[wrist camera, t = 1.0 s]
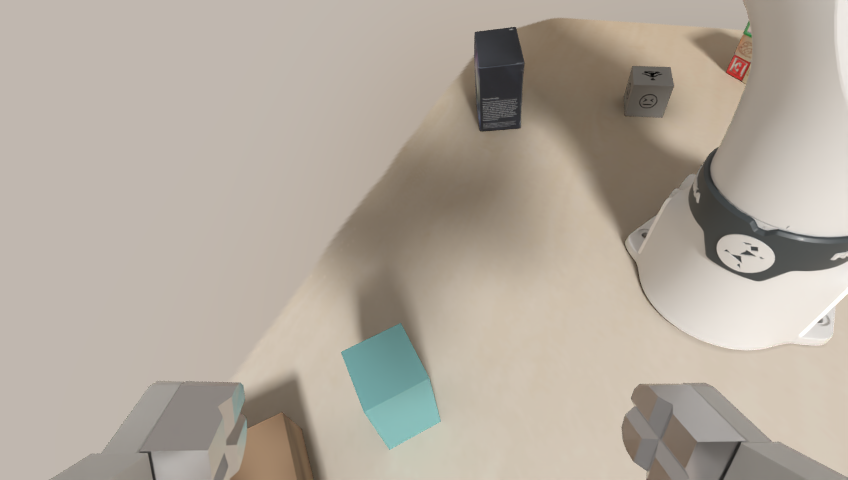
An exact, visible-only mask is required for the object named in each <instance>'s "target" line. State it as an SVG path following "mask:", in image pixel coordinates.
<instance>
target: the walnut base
mask: <svg viewBox="0 0 848 480" xmlns="http://www.w3.org/2000/svg"><path fill="white" fill-rule="evenodd" d="M230 480H314V479H313V475H312V471H311V466H310V462H309V458H308V454H307V450H306V446H305V442H304V438H303V433H302V429H301V428H300V427H299V426H298V425H296V424H295V423H294V422H293V421H292V420H291V419H290V418H288V417H287V416H286V415H285V414H284V413H283V412H281V413H279V414H277V415H275V416H273V417H271V418H269V419H266V420H264V421H262V422H260V423H258V424H256V425H254V426H252V427H250V428H247V438H246V445H245V450H244V455H243V459H242V462H241V465H240V468H239V471H238V472H237V473H236V474H234V475H233V476H232V477H231V478H230Z"/></svg>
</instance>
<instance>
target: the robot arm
mask: <svg viewBox="0 0 848 480" xmlns="http://www.w3.org/2000/svg"><path fill="white" fill-rule="evenodd" d="M743 2H744V5H745V7H746V10H747V14H748V18H749V22H750V27H751V34H752V59H751V66H750V71H749V75H748V79H747V82H746V85H745V88H744V91H743V94H742V96H741V99H740V101H739V104H738V106H737V109H736V111H735V114H734V116H733V118H732V121H731V123H730V125H729V127H728V129H727V131H726V133H725V136H724V138H723V140H722V142H721V144H720V146H719V147H718V148H716V149H715V150H713V151H712V152H711V153H710V154H709V156H708V157H707V159H706V160H705V162H704V163H703V165H701V167H700V168H699V170H698V172H697V174H696V175H695V174H690V175H689V176H687V177H686V178H685V180H684V181H683V182H682V184H681V185H680V187H679V189H678V188H676V189H674V190H673V191H672V193H671V194H670V195H669V198H667V199H666V201H665V202H664V203H663V205H662V207H661V209H660V211H659V213H658V214H657V215H655V216H654V217H652V218H651V219H650V220H648V221H647V222H646V223H644V224H643V225H642V226H640V227H639V228H637V229H636V230H635V231H633V232H632V233H631V234H630V235H629V236H628V238H627V239H626V241H625V246H626V248H627V250H628V252H629V253H630V255H631V256H632V257H633V259H634V260H635V261H636V263H637V266H638V271H639V277H640V282H641V285H642V288H643V290H644V292H645V294H646V296H647V298H648V299H649V301H650V302H651V304H652V305H653V306H654V307H655V308H656V310H657V311H658V312H659V313H660V314H661V315H662V316H663V317H664V318H665V319H667V320H668V321H669V322H670V323H672V324H673V325H674V326H676V327H677V328H679V329H680V330H682V331H683V332H685V333H687V334H689V335H691V336H693V337H695V338H697V339H699V340H702V341H704V342H707V343H709V344H713V345H716V346H720V347H724V348H729V349H736V350H759V349H765V348H770V347H773V346H777V345H781V344H787V343H793V344H801V345H823V344H825V343H827V342H828V340H829V339H830V338H831V337H832V336H833V330H834V317H835V305H836V304H837V303H838V302H839V301H840V300H841V299H842V298H843V297H844V296H845V295H846V294H847V293H848V0H743ZM643 237H646V238H643ZM817 322H818V323H817ZM631 400H632V402H633V404H634V407H633V408H632V409H631V410H630V411H629V412H628V413H627V414H626V415H625V417H624V421H623V424H622V437H623V442H624V445H625V447H626V450H627V452H628V454H629V455H630V457H631V458H632V460H633V462H635V463H636V464H638V465H639V466H640V467H642V468H643V469H645V470H646V471H647V474H646V480H848V478H847V477H846V476H844V475H842V474H840V473H838V472H836V471H834V470H832V469H830V468H828V467H826V466H825V465H823V464H821V463H819V462H817V461H815V460H813V459H811V458H809V457H807V456H805V455H803V454H802V453H800V452H798V451H796V450H794V449H792V448H790V447H788V446H786V445H784V444H782V443H781V442H772V441H771V440H770V439H769V438H768V437H767V436H766V435H765V434H763V433H762V432H761V431H760V430H759V429H758V428H757V427H756V426H755V425H754V424H753V423H752V422H751V421H750V420H749V419H747V418H746V417H745V416H744V415H743V414H742V413H741V412H740V411H739V410H738V409H737V408H736V407H735V406H734V405H733V404H731V403H730V402H729V401H728V400H727V399H726V398H725V397H724V396H723V395H722V394H721V393H720V392H719V391H718V390H717V389H715V388H714V387H713V386H711V385H709V384H706V383H683V384H639V385H638V386H637V387H636V388H635V389H634V391H633V394H632V397H631ZM244 401H245V395H244V387H243V385H242V384H241V383H232V382H192V381H186V382H172V381H157V382H156V383H153V384H152V385H150V386H149V387H148V389H147V391H146V392H145V393H144V394H143V396H142V397H141V399H140V400H139V401H138V403H137V404H136V406H135V407H134V408H133V410H132V411H131V413H130V414H129V415H128V417H127V418H126V420H125V421H124V422H123V424H122V425H121V427H120V428H119V429H118V431H117V432H116V434H115V435H114V436H113V438H112V439H111V440H110V442H109V443H108V445H107V446H106V447H105V449H104V450H103V452H102V453H101V454H90V455H89V456H87V457H85V458H84V459H82V460H81V461H79V462H77V463H76V464H74V465H72V466H71V467H69V468H68V469H66V470H64V471H63V472H61V473H60V474H58V475H56V476H55V477H53V478H51V479H50V480H230V478H231V477H232V476H233V475H234V474H236V473H237V472H238V471H239V468H240V465H241V462H242V459H243V455H244V450H245V445H246V438H247V419H246V417H245V416H244V415H243V414H242V413H241V412H240V411H241V408H242V406H243V403H244Z"/></svg>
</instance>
